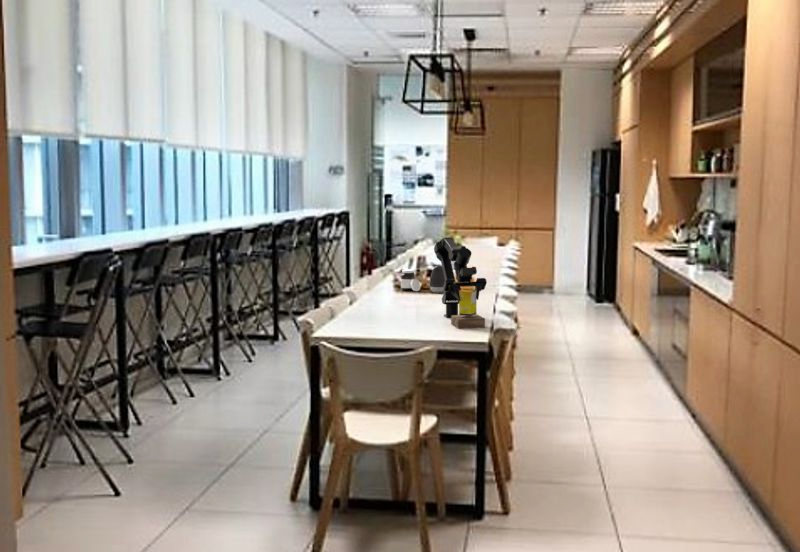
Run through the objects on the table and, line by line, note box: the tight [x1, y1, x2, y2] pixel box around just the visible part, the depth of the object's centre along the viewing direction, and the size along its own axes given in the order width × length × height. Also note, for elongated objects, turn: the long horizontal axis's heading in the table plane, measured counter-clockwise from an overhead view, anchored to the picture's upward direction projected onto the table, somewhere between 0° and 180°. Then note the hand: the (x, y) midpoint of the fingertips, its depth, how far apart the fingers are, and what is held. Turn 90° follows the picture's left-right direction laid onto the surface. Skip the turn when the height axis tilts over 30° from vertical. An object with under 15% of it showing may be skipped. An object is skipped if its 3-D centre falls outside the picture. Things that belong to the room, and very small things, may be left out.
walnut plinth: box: [450, 313, 486, 330], centre depth 406 cm, size 12×12×4 cm
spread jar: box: [400, 268, 421, 292], centre depth 523 cm, size 12×11×12 cm
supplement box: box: [458, 288, 477, 316], centre depth 405 cm, size 6×6×11 cm
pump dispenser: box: [428, 264, 445, 294], centre depth 514 cm, size 10×10×15 cm
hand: (468, 299), depth 403 cm, fingers closed on supplement box, 8 cm apart
